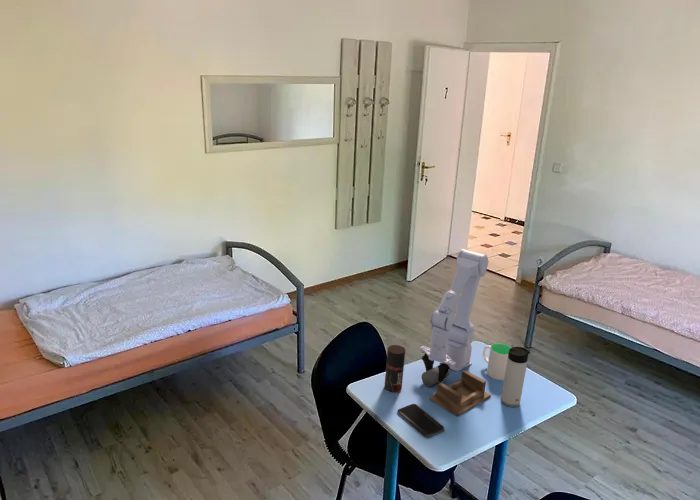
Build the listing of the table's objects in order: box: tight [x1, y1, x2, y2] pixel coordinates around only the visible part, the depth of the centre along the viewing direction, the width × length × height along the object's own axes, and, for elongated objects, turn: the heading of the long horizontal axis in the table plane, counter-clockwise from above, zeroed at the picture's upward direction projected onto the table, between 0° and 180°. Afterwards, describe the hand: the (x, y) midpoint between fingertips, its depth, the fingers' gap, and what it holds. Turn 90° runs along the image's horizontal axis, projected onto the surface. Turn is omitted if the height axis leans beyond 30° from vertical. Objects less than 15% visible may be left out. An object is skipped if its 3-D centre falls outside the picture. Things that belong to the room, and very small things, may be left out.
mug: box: [482, 342, 512, 381], centre depth 203 cm, size 12×8×10 cm, turn 36°
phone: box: [396, 403, 445, 438], centre depth 174 cm, size 8×1×15 cm
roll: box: [421, 363, 450, 387], centre depth 195 cm, size 9×5×5 cm, turn 132°
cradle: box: [428, 369, 491, 417], centre depth 186 cm, size 18×12×6 cm, turn 132°
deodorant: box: [384, 344, 406, 394], centre depth 188 cm, size 6×6×15 cm
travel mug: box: [500, 346, 531, 408], centre depth 183 cm, size 6×7×20 cm
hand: (435, 377), depth 196 cm, fingers closed on roll, 5 cm apart
